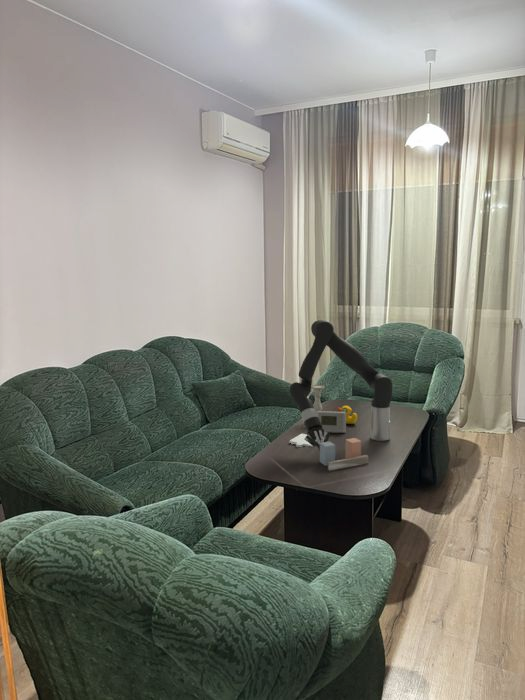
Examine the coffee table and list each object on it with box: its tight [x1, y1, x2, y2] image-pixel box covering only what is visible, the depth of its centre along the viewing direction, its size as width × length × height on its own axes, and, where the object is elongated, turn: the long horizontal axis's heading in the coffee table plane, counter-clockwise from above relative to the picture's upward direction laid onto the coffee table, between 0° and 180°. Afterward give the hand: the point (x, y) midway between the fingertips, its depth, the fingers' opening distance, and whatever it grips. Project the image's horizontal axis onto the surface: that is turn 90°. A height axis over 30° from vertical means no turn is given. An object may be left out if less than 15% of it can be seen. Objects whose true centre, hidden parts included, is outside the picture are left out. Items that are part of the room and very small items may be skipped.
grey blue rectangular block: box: [319, 440, 336, 467], centre depth 241 cm, size 5×5×9 cm
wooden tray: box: [327, 454, 369, 472], centre depth 244 cm, size 14×20×4 cm
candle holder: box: [311, 384, 325, 412], centre depth 304 cm, size 9×9×20 cm
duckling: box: [337, 405, 358, 425], centre depth 300 cm, size 11×5×10 cm, turn 61°
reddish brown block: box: [344, 437, 362, 459], centre depth 246 cm, size 5×5×9 cm
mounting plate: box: [288, 433, 325, 448], centre depth 272 cm, size 18×13×2 cm
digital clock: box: [317, 410, 347, 434], centre depth 287 cm, size 16×9×11 cm, turn 69°
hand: (323, 453), depth 244 cm, fingers closed
